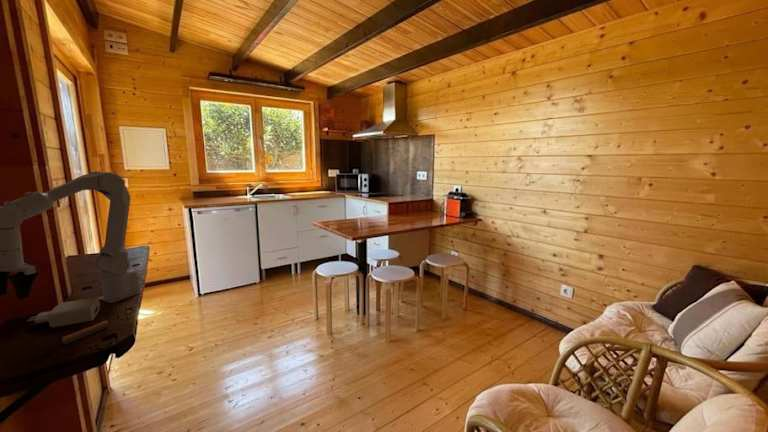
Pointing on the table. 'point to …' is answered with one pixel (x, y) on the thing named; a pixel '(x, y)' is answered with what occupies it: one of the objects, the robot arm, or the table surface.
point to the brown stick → (85, 332)
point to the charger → (70, 313)
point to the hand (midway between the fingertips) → (12, 296)
